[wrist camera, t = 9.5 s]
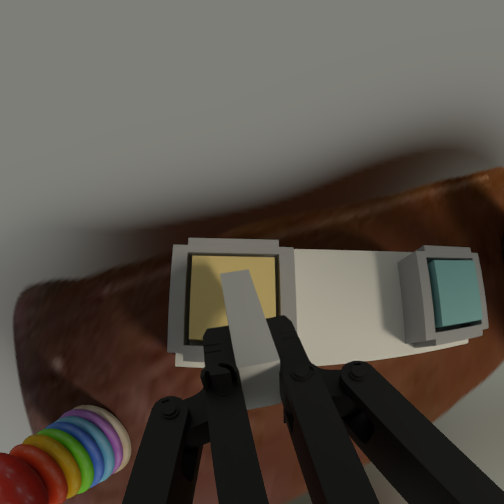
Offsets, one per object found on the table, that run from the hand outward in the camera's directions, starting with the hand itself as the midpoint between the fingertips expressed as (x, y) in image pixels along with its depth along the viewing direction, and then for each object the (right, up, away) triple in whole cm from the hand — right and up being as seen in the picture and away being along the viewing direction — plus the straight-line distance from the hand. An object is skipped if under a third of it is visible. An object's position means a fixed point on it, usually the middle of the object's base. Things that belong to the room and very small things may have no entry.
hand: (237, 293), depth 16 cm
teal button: (+17, -2, +7) cm, 19 cm away
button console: (+8, -5, +14) cm, 16 cm away
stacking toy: (-15, -17, +7) cm, 24 cm away
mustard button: (-1, -2, +5) cm, 6 cm away
